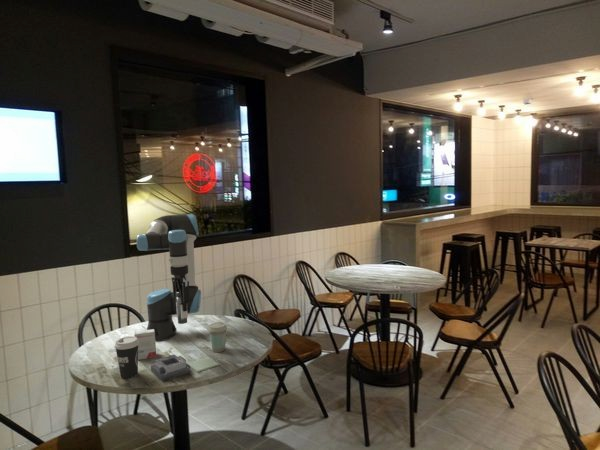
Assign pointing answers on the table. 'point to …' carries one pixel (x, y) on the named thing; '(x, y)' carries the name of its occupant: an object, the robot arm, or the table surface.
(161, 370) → the block
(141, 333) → the ink box
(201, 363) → the mat
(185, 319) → the dark glossy cylinder
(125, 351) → the coffee cup
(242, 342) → the table surface
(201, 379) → the table surface
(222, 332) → the coffee cup
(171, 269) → the robot arm
